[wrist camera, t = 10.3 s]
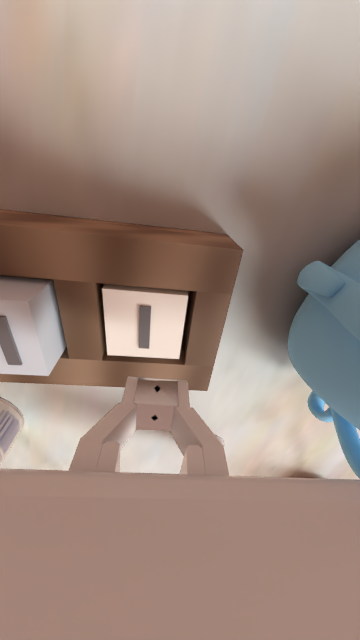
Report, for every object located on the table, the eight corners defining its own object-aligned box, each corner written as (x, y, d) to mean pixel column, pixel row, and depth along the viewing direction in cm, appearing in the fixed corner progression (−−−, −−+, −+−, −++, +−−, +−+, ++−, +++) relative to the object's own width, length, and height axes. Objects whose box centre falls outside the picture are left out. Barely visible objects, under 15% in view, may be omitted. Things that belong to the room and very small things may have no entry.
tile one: (185, 278, 16) (188, 296, 13) (177, 335, 18) (179, 360, 16) (112, 271, 15) (101, 289, 13) (115, 331, 18) (106, 356, 15)
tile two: (53, 279, 13) (26, 303, 11) (66, 346, 16) (47, 377, 13) (-39, 272, 13) (-90, 294, 10) (-10, 341, 15) (-45, 373, 13)
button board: (226, 234, 15) (243, 250, 12) (201, 356, 21) (207, 390, 18) (-214, 186, 13) (-351, 188, 9) (-107, 339, 19) (-168, 374, 15)
